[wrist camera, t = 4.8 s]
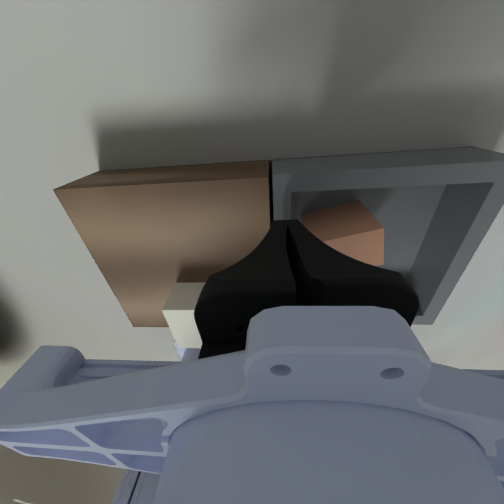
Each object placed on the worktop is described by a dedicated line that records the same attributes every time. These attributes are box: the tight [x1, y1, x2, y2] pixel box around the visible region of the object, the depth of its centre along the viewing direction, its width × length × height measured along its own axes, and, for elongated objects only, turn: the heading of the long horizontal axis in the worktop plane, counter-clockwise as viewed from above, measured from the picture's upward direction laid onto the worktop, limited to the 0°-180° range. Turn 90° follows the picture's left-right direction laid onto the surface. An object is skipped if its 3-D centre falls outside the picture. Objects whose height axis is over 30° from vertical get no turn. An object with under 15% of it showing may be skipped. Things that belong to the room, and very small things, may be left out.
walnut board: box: [53, 160, 271, 327], centre depth 17 cm, size 12×12×4 cm
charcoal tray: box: [272, 147, 504, 325], centre depth 16 cm, size 12×12×4 cm
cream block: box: [162, 282, 206, 348], centre depth 16 cm, size 4×4×2 cm
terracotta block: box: [300, 200, 384, 266], centre depth 14 cm, size 4×4×2 cm
